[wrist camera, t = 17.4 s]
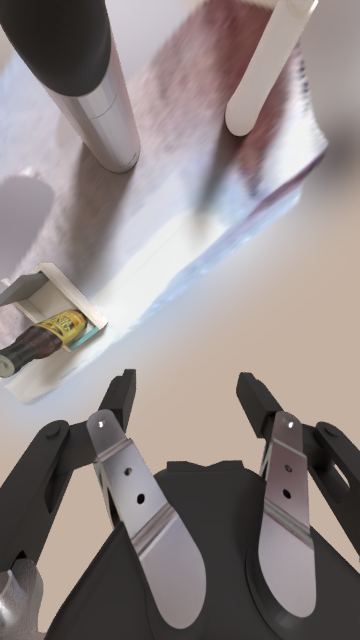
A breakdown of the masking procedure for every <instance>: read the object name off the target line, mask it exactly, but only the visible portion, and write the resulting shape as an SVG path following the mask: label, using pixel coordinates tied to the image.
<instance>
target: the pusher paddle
mask: <svg viewBox="0 0 360 640" xmlns="http://www.w3.org/2000/svg"><path fill="white" fill-rule="evenodd" d="M49 280H50V279H49V278H48V277H47V276H46V275H45V274H44V273H37V274H29V275H21V276H20V277H19V278H18V279H17V280H16V281H15V282H14V283H12V282H11V281H10V280H9V279H8V278H5V279H2V280H1V282H2V283H3V284H4V285H5V286H6V287H7V289H6V290H5V291H4V292H3V293H1V294H0V307H1V306H4V305H8V304H11V303H14V302H18V301H21V300H25V299H28V298H29V297H30V296H31V295H33V294H34V293H35V292H36V291H37V290H38V289H40V288H41V287H42V286H43V285H44V284H45V283H46V282H48V281H49Z"/></svg>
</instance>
